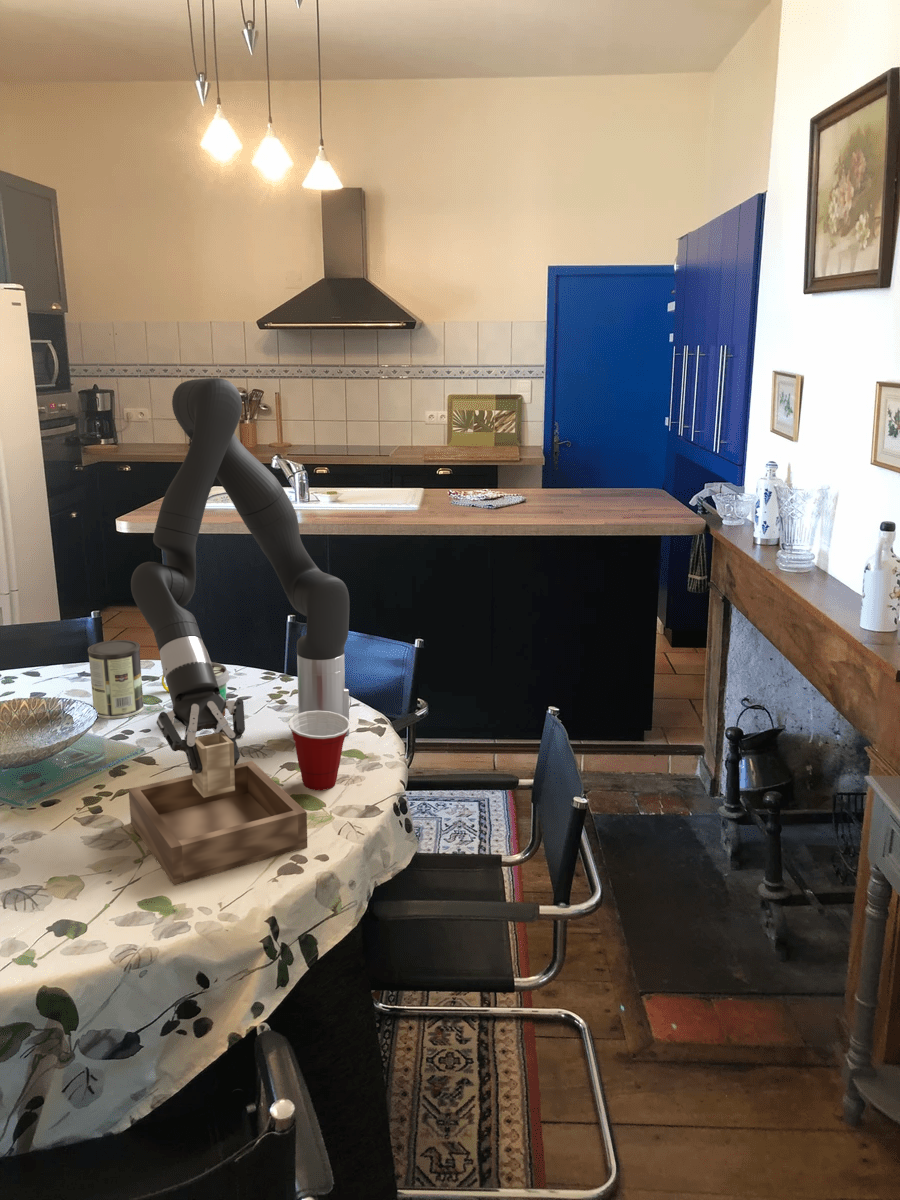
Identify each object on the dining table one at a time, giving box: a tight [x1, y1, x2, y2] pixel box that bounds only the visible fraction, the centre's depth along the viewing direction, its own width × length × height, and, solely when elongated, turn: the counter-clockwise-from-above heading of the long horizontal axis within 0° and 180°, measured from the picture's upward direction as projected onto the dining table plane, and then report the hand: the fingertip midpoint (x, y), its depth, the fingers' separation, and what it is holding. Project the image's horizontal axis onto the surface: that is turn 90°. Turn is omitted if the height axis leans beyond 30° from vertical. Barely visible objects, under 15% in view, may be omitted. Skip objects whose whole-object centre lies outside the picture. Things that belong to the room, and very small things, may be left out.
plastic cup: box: [288, 711, 352, 791], centre depth 168 cm, size 11×11×12 cm
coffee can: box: [87, 639, 145, 720], centre depth 200 cm, size 10×10×14 cm
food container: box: [211, 661, 231, 716], centre depth 198 cm, size 12×6×10 cm, turn 168°
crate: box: [127, 760, 308, 886], centre depth 151 cm, size 21×22×6 cm
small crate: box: [191, 732, 235, 797], centre depth 148 cm, size 5×5×8 cm
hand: (217, 767), depth 147 cm, fingers closed on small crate, 5 cm apart
